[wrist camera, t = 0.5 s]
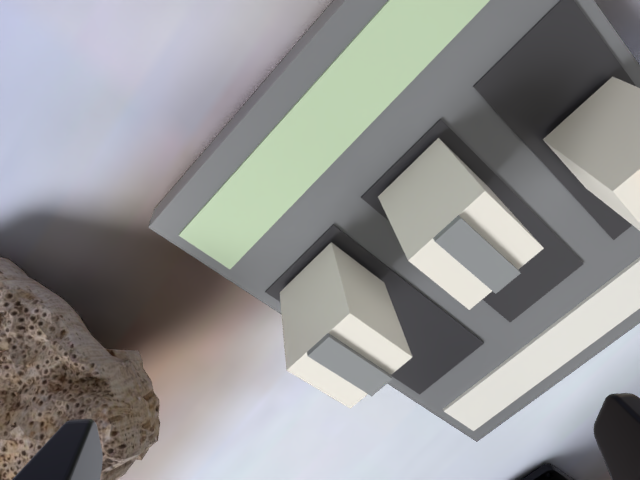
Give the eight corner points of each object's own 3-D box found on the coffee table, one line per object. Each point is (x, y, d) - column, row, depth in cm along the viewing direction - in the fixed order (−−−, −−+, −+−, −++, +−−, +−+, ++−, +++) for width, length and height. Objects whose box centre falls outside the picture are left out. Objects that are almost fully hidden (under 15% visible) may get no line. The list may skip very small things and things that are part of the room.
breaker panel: (733, 219, 25) (762, 237, 24) (466, 419, 30) (478, 444, 28) (464, -152, 17) (484, -159, 15) (154, 209, 21) (147, 229, 20)
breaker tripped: (653, 131, 20) (752, 182, 16) (585, 188, 21) (664, 250, 17) (612, 76, 19) (709, 118, 15) (542, 139, 20) (616, 194, 16)
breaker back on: (384, 282, 22) (414, 361, 18) (333, 328, 23) (351, 412, 19) (331, 242, 21) (350, 317, 17) (279, 292, 22) (286, 374, 18)
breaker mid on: (489, 187, 21) (547, 251, 17) (429, 241, 21) (471, 313, 17) (438, 137, 19) (488, 193, 15) (377, 196, 20) (409, 263, 16)
